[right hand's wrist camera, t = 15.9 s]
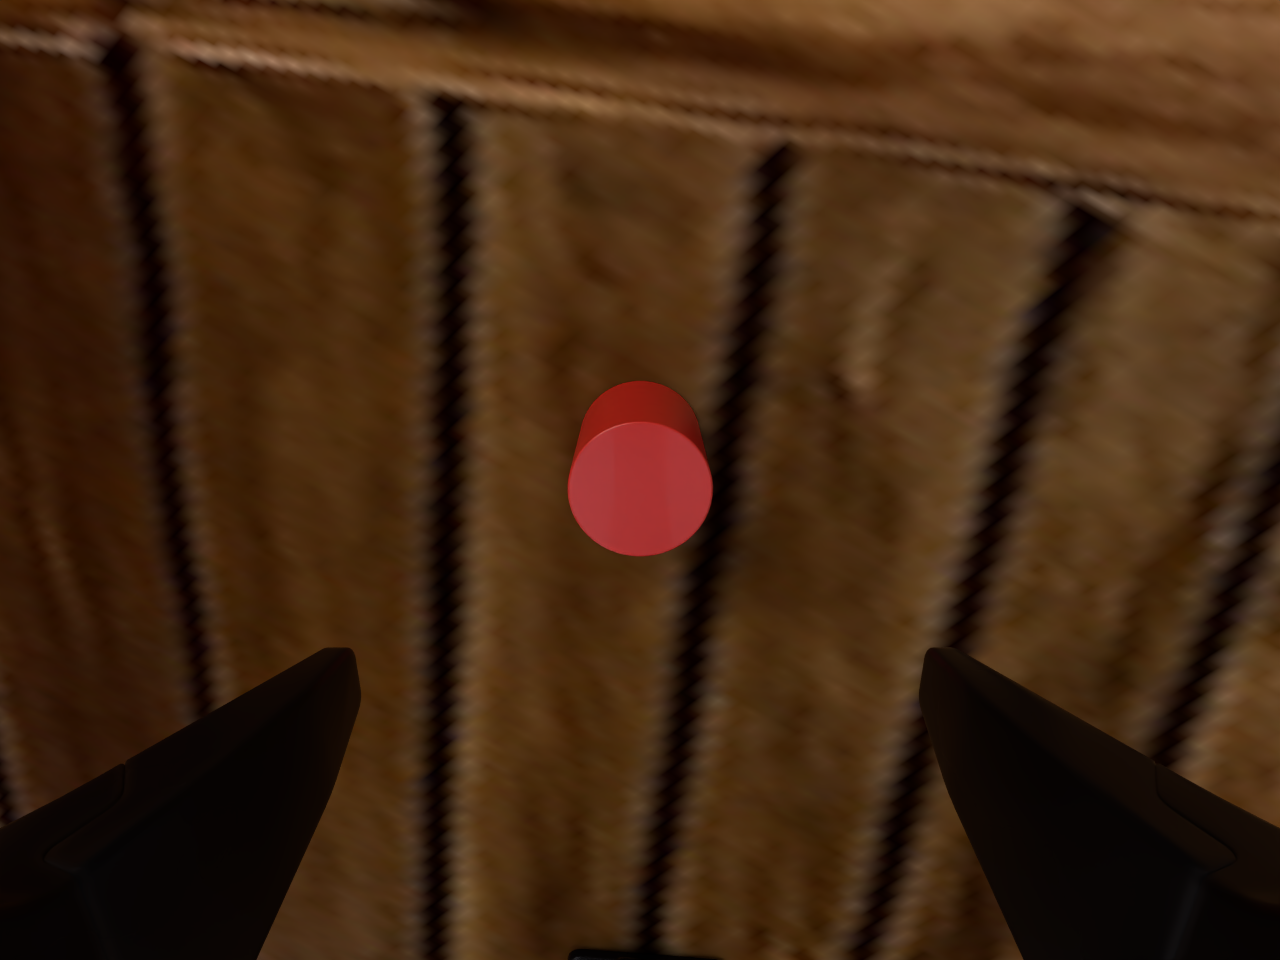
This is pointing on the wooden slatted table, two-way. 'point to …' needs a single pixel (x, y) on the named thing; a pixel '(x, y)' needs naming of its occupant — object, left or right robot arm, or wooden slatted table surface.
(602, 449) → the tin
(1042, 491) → the wooden slatted table surface
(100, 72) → the wooden slatted table surface
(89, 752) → the wooden slatted table surface
